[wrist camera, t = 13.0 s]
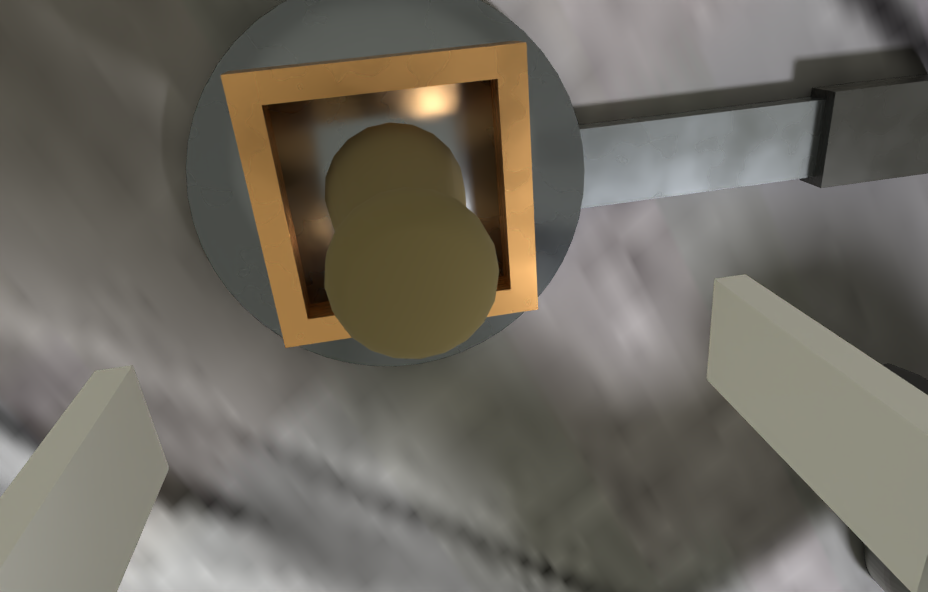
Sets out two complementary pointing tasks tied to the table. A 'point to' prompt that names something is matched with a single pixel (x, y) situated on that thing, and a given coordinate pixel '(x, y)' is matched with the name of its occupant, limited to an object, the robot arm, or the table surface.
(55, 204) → the table surface
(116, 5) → the table surface
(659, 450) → the table surface
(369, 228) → the cork
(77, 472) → the robot arm
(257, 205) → the round pan with handle
